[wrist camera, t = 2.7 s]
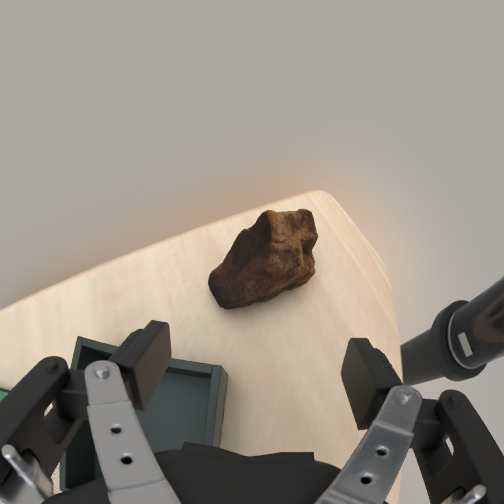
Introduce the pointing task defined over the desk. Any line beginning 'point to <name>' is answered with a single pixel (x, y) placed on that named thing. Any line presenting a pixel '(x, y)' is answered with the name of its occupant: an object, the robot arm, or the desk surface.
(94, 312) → the desk surface
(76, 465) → the bin
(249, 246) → the decorative rock
